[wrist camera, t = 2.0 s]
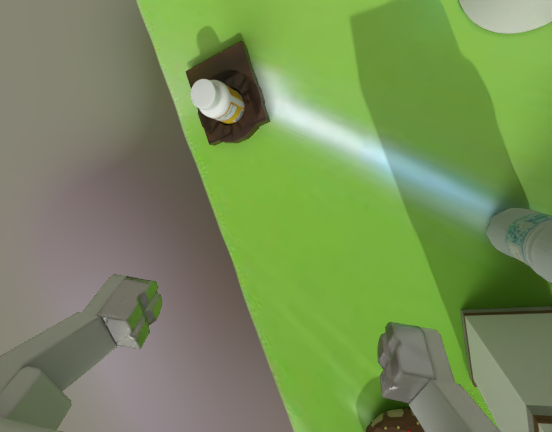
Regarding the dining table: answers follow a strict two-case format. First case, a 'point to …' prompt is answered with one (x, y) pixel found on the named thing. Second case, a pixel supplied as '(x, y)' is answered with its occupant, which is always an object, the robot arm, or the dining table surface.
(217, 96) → the supplement bottle
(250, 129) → the holder
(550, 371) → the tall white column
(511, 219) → the bottle
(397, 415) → the donut
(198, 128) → the dining table surface
